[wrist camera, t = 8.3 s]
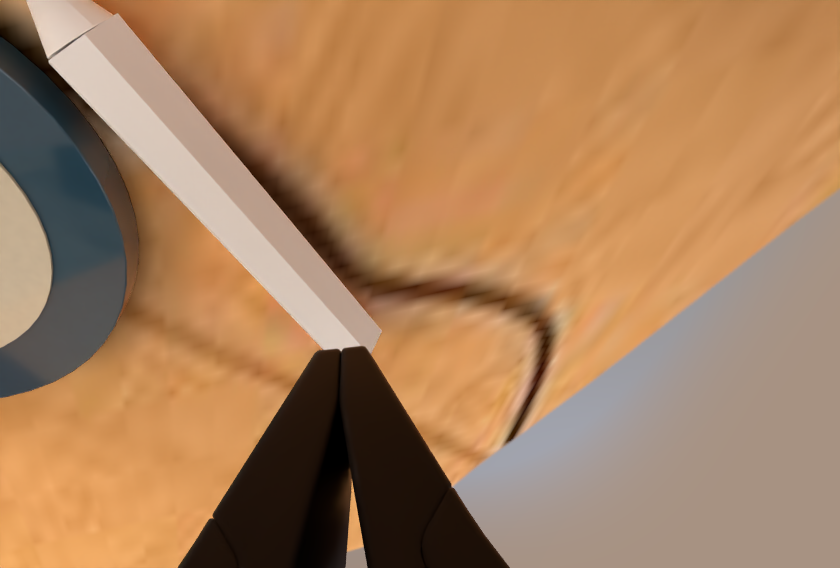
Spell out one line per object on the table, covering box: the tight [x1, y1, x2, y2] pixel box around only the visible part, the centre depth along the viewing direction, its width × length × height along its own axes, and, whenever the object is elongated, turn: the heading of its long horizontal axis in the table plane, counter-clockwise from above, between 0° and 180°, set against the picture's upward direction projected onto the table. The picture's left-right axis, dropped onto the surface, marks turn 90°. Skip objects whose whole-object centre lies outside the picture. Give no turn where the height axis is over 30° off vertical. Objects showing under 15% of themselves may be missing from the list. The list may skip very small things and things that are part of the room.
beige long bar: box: [26, 0, 382, 354], centre depth 17 cm, size 3×2×16 cm
